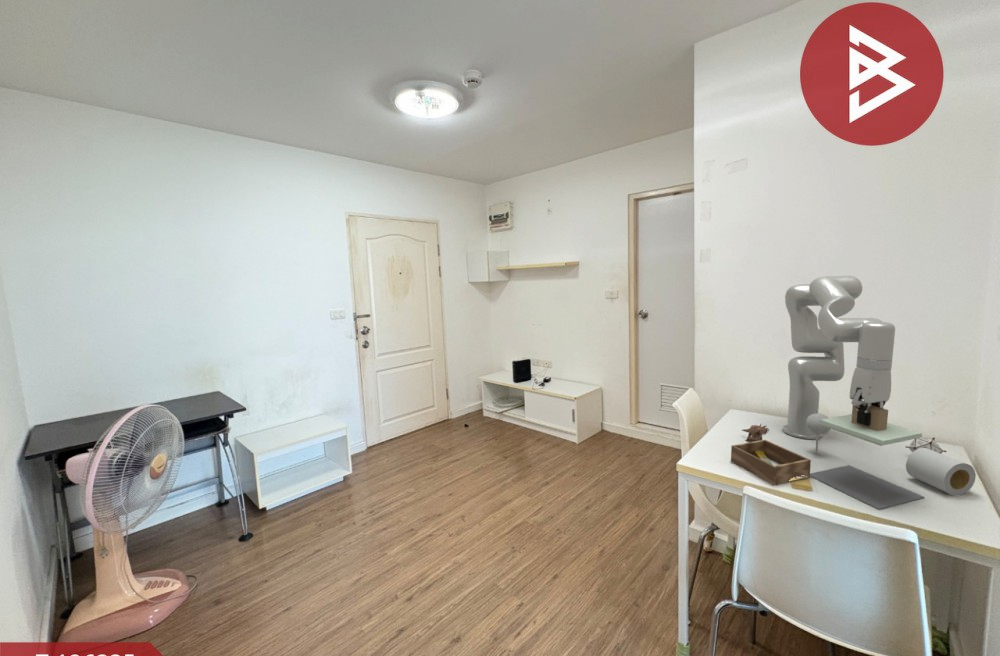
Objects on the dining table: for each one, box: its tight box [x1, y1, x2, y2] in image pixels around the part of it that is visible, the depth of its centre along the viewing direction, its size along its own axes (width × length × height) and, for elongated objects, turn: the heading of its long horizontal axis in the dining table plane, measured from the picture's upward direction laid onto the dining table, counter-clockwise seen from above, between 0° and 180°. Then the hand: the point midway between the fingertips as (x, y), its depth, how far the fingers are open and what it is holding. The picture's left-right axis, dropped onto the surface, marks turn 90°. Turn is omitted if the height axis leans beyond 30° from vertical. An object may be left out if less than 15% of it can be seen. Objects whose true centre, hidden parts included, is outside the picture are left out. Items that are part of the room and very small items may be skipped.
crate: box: [730, 439, 812, 486], centre depth 134 cm, size 15×17×6 cm
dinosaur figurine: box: [741, 423, 770, 443], centre depth 153 cm, size 14×6×9 cm, turn 173°
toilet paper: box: [905, 448, 976, 497], centre depth 119 cm, size 10×10×10 cm
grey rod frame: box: [905, 436, 948, 454], centre depth 135 cm, size 9×8×10 cm
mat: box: [810, 464, 925, 511], centre depth 122 cm, size 18×20×1 cm
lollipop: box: [806, 413, 831, 455], centre depth 142 cm, size 7×7×15 cm
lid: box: [820, 403, 923, 447], centre depth 119 cm, size 15×17×8 cm
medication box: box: [755, 451, 774, 466], centre depth 134 cm, size 12×3×4 cm, turn 162°
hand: (868, 422), depth 119 cm, fingers closed on lid, 3 cm apart
